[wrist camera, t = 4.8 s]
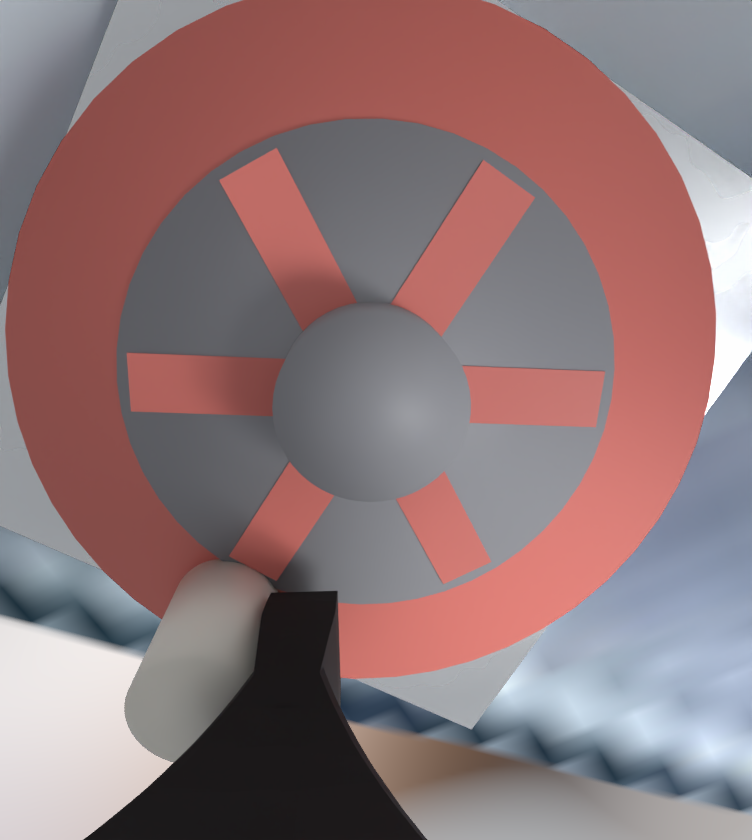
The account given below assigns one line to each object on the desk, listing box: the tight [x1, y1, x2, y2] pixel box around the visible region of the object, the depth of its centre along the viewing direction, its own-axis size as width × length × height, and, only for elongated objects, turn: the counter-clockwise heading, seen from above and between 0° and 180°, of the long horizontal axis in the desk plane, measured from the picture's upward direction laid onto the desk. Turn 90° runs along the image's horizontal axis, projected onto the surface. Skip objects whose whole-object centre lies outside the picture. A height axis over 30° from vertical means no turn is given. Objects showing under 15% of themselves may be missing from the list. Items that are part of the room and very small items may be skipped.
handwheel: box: [5, 0, 716, 762], centre depth 10 cm, size 12×12×4 cm
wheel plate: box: [0, 0, 752, 729], centre depth 12 cm, size 13×13×1 cm
